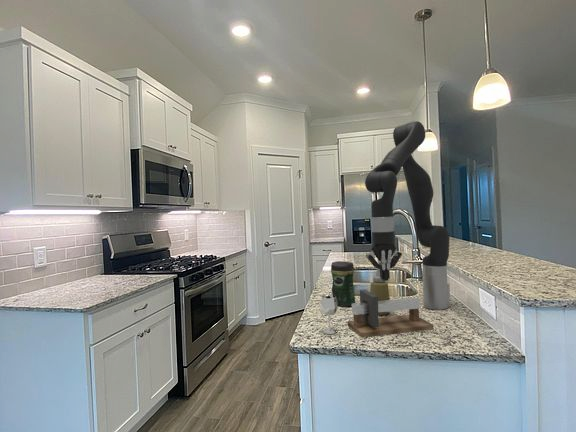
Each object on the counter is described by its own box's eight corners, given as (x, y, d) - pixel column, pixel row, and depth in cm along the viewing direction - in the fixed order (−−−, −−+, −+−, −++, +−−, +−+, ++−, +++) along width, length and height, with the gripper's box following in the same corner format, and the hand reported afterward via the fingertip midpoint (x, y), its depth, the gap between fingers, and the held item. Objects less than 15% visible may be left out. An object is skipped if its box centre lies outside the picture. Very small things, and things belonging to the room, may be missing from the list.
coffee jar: (358, 303, 150) (356, 261, 149) (349, 308, 143) (347, 263, 143) (338, 300, 156) (337, 259, 155) (329, 304, 149) (327, 262, 149)
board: (413, 318, 129) (413, 302, 129) (433, 329, 117) (433, 311, 117) (347, 325, 123) (347, 308, 123) (361, 337, 112) (360, 319, 112)
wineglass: (334, 335, 114) (332, 299, 114) (318, 332, 117) (317, 297, 117) (340, 330, 119) (339, 295, 118) (325, 327, 122) (324, 293, 122)
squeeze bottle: (376, 308, 141) (375, 265, 141) (394, 312, 136) (393, 267, 135) (365, 313, 136) (364, 268, 135) (383, 318, 130) (382, 270, 129)
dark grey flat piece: (365, 317, 124) (365, 289, 123) (378, 326, 114) (377, 296, 114) (360, 317, 123) (359, 290, 123) (373, 327, 114) (372, 297, 113)
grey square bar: (414, 306, 124) (414, 296, 124) (420, 309, 121) (420, 299, 120) (351, 312, 119) (351, 302, 119) (355, 315, 116) (355, 305, 116)
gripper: (394, 228, 124) (396, 276, 124) (360, 230, 121) (362, 279, 122) (406, 229, 116) (408, 280, 117) (369, 232, 114) (372, 284, 114)
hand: (384, 280), depth 119 cm, fingers closed
